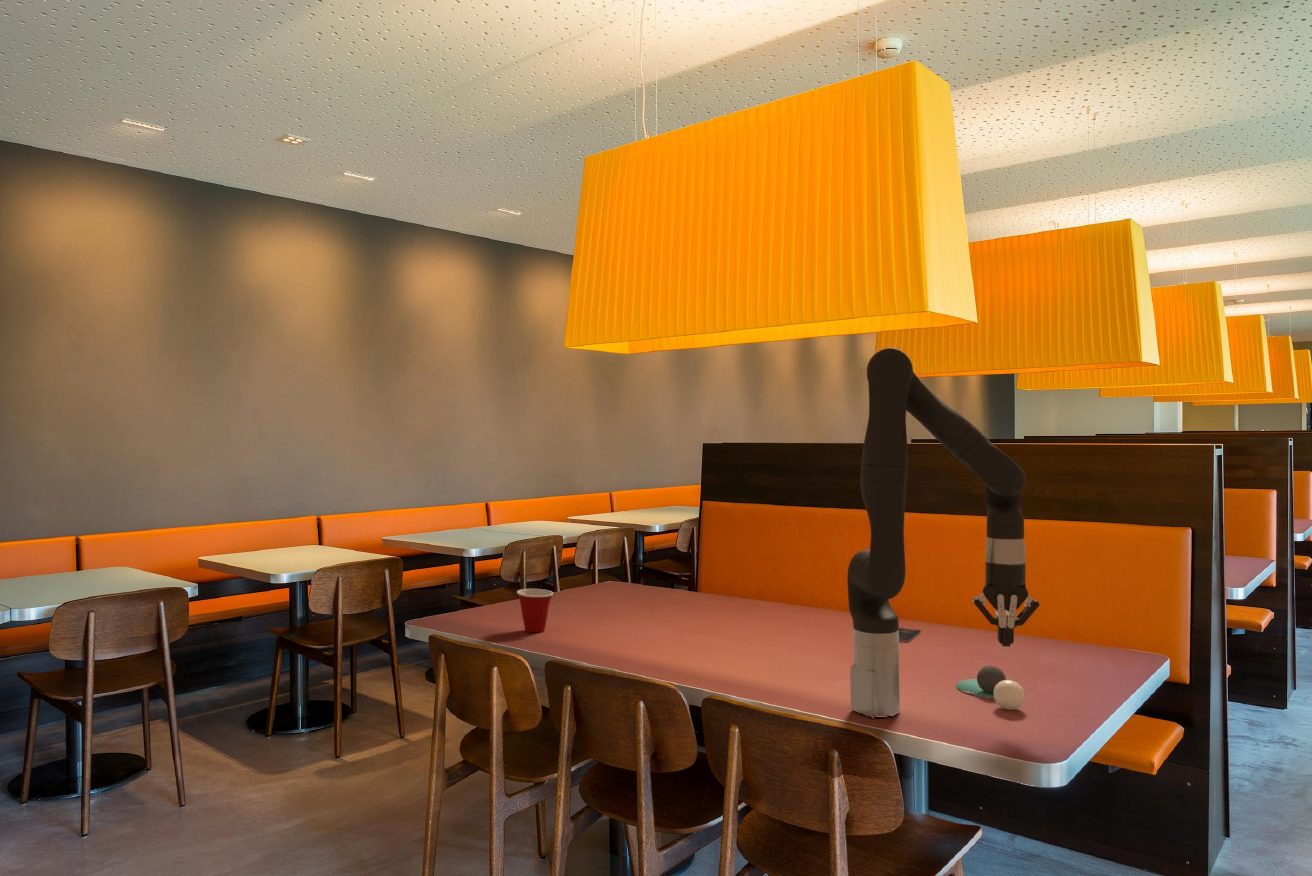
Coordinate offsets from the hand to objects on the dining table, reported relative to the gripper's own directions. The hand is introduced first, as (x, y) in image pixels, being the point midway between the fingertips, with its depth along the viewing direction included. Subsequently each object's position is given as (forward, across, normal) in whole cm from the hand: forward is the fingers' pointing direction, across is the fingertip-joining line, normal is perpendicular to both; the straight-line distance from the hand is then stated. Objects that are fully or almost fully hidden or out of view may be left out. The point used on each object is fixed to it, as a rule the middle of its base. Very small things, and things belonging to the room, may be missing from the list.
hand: (1005, 645), depth 170 cm
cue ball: (+12, -2, -6) cm, 13 cm away
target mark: (+14, 0, -19) cm, 24 cm away
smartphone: (+15, +15, -67) cm, 70 cm away
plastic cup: (+16, +121, -57) cm, 135 cm away
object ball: (+12, 0, -16) cm, 20 cm away
